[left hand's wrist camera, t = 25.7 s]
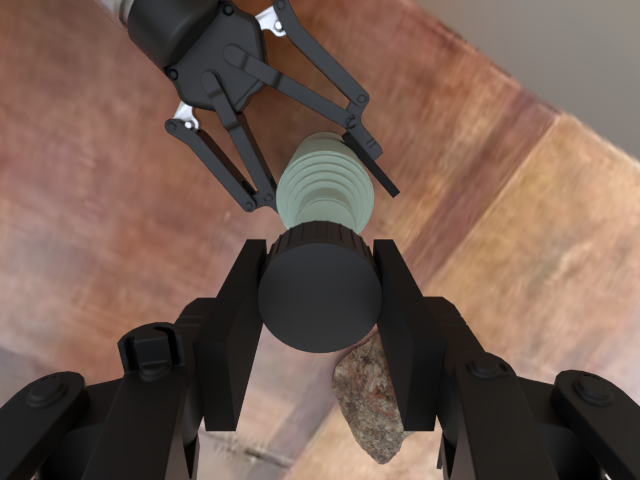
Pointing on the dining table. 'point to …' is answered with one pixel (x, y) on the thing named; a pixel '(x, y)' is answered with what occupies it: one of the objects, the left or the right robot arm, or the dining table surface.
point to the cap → (319, 288)
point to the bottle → (325, 185)
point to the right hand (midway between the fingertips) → (361, 217)
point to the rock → (370, 401)
